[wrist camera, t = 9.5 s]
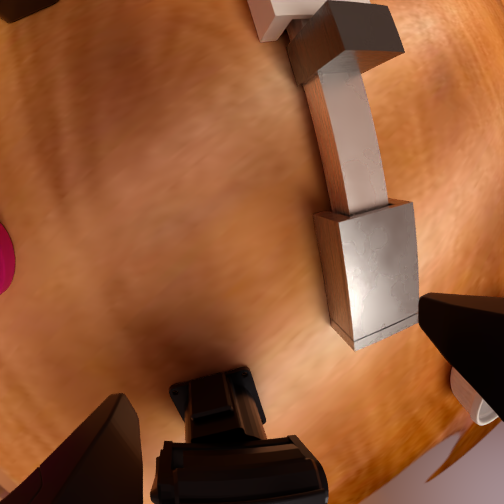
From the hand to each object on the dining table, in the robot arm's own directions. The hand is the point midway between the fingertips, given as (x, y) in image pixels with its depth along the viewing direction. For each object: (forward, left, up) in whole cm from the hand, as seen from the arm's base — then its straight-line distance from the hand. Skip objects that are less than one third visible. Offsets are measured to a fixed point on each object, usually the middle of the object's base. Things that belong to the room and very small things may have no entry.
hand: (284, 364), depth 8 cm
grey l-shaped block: (+9, -9, -13) cm, 18 cm away
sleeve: (-3, -9, -13) cm, 16 cm away
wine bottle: (+25, +10, -13) cm, 30 cm away
